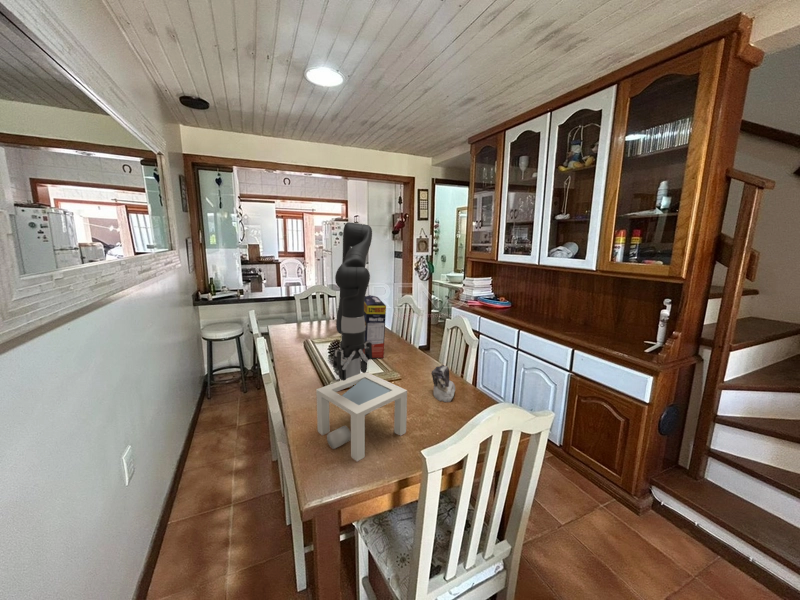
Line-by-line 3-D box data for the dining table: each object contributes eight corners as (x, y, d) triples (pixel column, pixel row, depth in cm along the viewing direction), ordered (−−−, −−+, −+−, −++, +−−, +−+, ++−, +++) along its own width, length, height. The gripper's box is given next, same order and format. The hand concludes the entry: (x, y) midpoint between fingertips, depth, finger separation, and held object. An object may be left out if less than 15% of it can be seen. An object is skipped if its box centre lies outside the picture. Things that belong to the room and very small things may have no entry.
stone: (459, 406, 139) (446, 379, 134) (437, 412, 142) (423, 386, 137) (457, 384, 152) (445, 359, 146) (437, 390, 154) (424, 365, 149)
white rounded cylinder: (341, 436, 114) (326, 444, 110) (341, 423, 113) (326, 430, 109) (351, 443, 111) (336, 451, 106) (351, 429, 110) (336, 437, 105)
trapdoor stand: (317, 431, 117) (316, 389, 114) (365, 409, 132) (365, 371, 129) (357, 461, 102) (356, 413, 99) (406, 432, 117) (407, 390, 114)
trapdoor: (335, 403, 115) (334, 401, 115) (364, 380, 124) (363, 378, 123) (360, 419, 106) (359, 417, 105) (390, 392, 114) (390, 390, 114)
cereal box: (384, 359, 187) (387, 303, 181) (364, 359, 184) (366, 303, 178) (376, 344, 212) (378, 294, 206) (358, 344, 209) (360, 294, 204)
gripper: (362, 322, 115) (362, 366, 118) (327, 330, 105) (328, 378, 108) (377, 327, 109) (377, 373, 113) (342, 335, 99) (342, 386, 103)
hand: (353, 375), depth 110 cm, fingers open, 8 cm apart
